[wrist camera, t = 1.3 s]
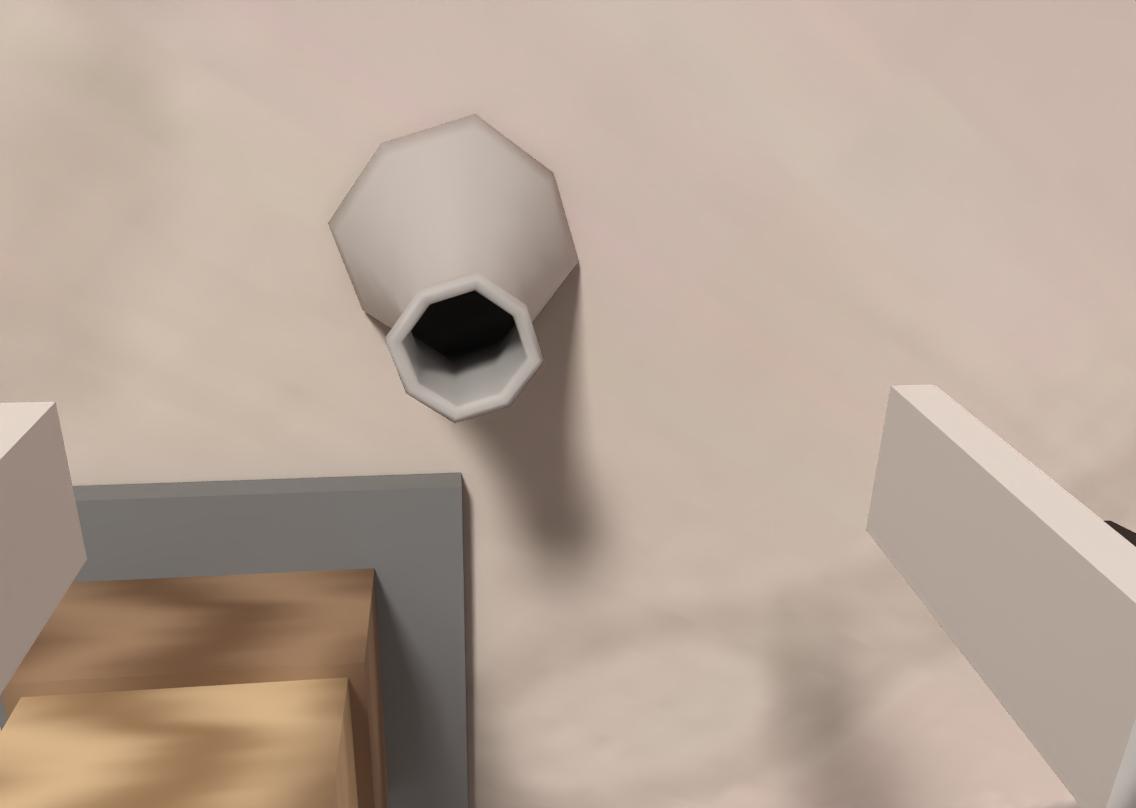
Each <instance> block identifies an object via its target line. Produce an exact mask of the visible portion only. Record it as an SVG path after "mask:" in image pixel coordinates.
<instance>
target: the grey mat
mask: <svg viewBox="0 0 1136 808" xmlns="http://www.w3.org/2000/svg"><path fill="white" fill-rule="evenodd" d="M72 487H73V492H74V497H75V501H76V506H77V511H78V516H79V521H80V526H81V531H82V536H83V541H84V546H85V551H86V556H87V560H86V562H85V563H84V565H83V566H82V568H81V569H80V571H79V573H78V574H77V576H76V577H75V579H74V580H73V582H90V581H112V580H133V579H154V578H176V577H197V576H218V575H240V574H261V573H283V572H304V571H325V570H347V569H368V568H374V570H375V586H376V602H377V618H378V634H379V650H380V666H381V682H382V698H383V714H384V730H385V746H386V762H387V778H388V807H387V808H468V779H467V728H466V677H465V626H464V575H463V525H462V482H461V473H442V474H413V475H384V476H355V477H326V478H298V479H269V480H240V481H211V482H183V483H154V484H125V485H96V486H72ZM7 720H8V719H7V715H6V712H5V708H4V704H3V700H2V696H1V695H0V727H1V731H2V729H3V727H4V726H5V724H6V722H7Z"/></svg>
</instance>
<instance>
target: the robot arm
mask: <svg viewBox="0 0 1136 808" xmlns="http://www.w3.org/2000/svg"><path fill="white" fill-rule="evenodd" d="M866 530H867V532H868V533H869V534H870V535H871V537H872V538H873V539H874V541H875V542H876V543H877V545H878V546H879V547H880V548H881V550H882V551H883V552H884V554H885V555H886V556H887V557H888V559H889V560H890V561H891V563H892V564H893V565H894V566H895V568H896V569H897V570H898V572H899V573H900V574H901V575H902V577H903V578H904V579H905V581H906V582H907V583H908V584H909V586H910V587H911V588H912V590H913V591H914V592H915V593H916V595H917V596H918V597H919V599H920V600H921V601H922V602H923V604H924V605H925V606H926V608H927V609H928V610H929V611H930V613H931V614H932V615H933V617H934V618H935V619H936V620H937V622H938V623H939V624H940V626H941V627H942V628H943V630H944V631H945V632H946V633H947V635H948V636H949V637H950V639H951V640H952V641H953V642H954V644H955V645H956V646H957V648H958V649H959V650H960V651H961V653H962V654H963V655H964V657H965V658H966V659H967V660H968V662H969V663H970V664H971V666H972V667H973V668H974V669H975V671H976V672H977V673H978V675H979V676H980V677H981V678H982V680H983V681H984V682H985V684H986V685H987V686H988V687H989V689H990V690H991V691H992V693H993V694H994V695H995V696H996V698H997V699H998V700H999V702H1000V703H1001V704H1002V705H1003V707H1004V708H1005V709H1006V711H1007V712H1008V713H1009V714H1010V716H1011V717H1012V718H1013V720H1014V721H1015V722H1016V724H1017V725H1018V726H1019V727H1020V729H1021V730H1022V731H1023V733H1024V734H1025V735H1026V736H1027V738H1028V739H1029V740H1030V742H1031V743H1032V744H1033V745H1034V747H1035V748H1036V749H1037V751H1038V752H1039V753H1040V754H1041V756H1042V757H1043V758H1044V760H1045V761H1046V762H1047V763H1048V765H1049V766H1050V767H1051V769H1052V770H1053V771H1054V772H1055V774H1056V775H1057V776H1058V778H1059V779H1060V780H1061V781H1062V783H1063V784H1064V785H1065V787H1066V788H1067V789H1068V790H1069V792H1070V793H1071V794H1072V796H1073V797H1074V798H1075V799H1076V801H1077V802H1078V803H1079V805H1080V806H1081V807H1082V808H1136V533H1134V532H1132V531H1130V530H1128V529H1126V528H1124V527H1122V526H1120V525H1118V524H1116V523H1114V522H1112V521H1103V520H1102V519H1100V518H1099V517H1098V516H1097V515H1095V514H1094V513H1093V512H1092V511H1091V510H1089V509H1088V508H1087V507H1086V506H1084V505H1083V504H1082V503H1081V502H1079V501H1078V500H1077V499H1076V498H1074V497H1073V496H1072V495H1071V494H1069V493H1068V492H1067V491H1066V490H1065V489H1063V488H1062V487H1061V486H1060V485H1058V484H1057V483H1056V482H1055V481H1053V480H1052V479H1051V478H1050V477H1048V476H1047V475H1046V474H1045V473H1043V472H1042V471H1041V470H1040V469H1039V468H1037V467H1036V466H1035V465H1034V464H1032V463H1031V462H1030V461H1029V460H1027V459H1026V458H1025V457H1024V456H1022V455H1021V454H1020V453H1019V452H1017V451H1016V450H1015V449H1014V448H1013V447H1011V446H1010V445H1009V444H1008V443H1006V442H1005V441H1004V440H1003V439H1001V438H1000V437H999V436H998V435H996V434H995V433H994V432H993V431H991V430H990V429H989V428H988V427H987V426H985V425H984V424H983V423H982V422H980V421H979V420H978V419H977V418H975V417H974V416H973V415H972V414H970V413H969V412H968V411H967V410H965V409H964V408H963V407H962V406H960V405H959V404H958V403H957V402H956V401H954V400H953V399H952V398H951V397H949V396H948V395H947V394H946V393H944V392H943V391H942V390H941V389H939V388H938V387H937V386H936V385H894V386H891V388H890V394H889V399H888V405H887V411H886V417H885V423H884V429H883V434H882V440H881V446H880V452H879V458H878V463H877V469H876V475H875V481H874V487H873V493H872V498H871V504H870V510H869V516H868V522H867V527H866ZM86 560H87V556H86V551H85V546H84V541H83V536H82V531H81V526H80V521H79V516H78V511H77V506H76V501H75V497H74V492H73V487H72V482H71V477H70V472H69V467H68V462H67V457H66V452H65V447H64V442H63V437H62V432H61V427H60V422H59V417H58V412H57V407H56V402H23V403H1V404H0V695H1V693H2V692H3V690H4V689H5V687H6V686H7V684H8V682H9V681H10V679H11V678H12V676H13V675H14V673H15V671H16V670H17V668H18V667H19V665H20V664H21V662H22V660H23V659H24V657H25V656H26V654H27V653H28V651H29V649H30V648H31V646H32V645H33V643H34V642H35V640H36V638H37V637H38V635H39V634H40V632H41V631H42V629H43V627H44V626H45V624H46V623H47V621H48V620H49V618H50V617H51V615H52V613H53V612H54V610H55V609H56V607H57V606H58V604H59V602H60V601H61V599H62V598H63V596H64V595H65V593H66V591H67V590H68V588H69V587H70V585H71V584H72V582H73V580H74V579H75V577H76V576H77V574H78V573H79V571H80V569H81V568H82V566H83V565H84V563H85V562H86Z"/></svg>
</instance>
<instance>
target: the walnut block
mask: <svg viewBox="0 0 1136 808" xmlns="http://www.w3.org/2000/svg"><path fill="white" fill-rule="evenodd" d="M346 677H348V684H349V696H350V709H351V721H352V734H353V746H354V759H355V771H356V784H357V797H358V808H387V807H388V778H387V762H386V746H385V730H384V714H383V698H382V682H381V666H380V650H379V634H378V618H377V602H376V586H375V570H374V568H368V569H347V570H325V571H304V572H283V573H261V574H240V575H218V576H197V577H176V578H154V579H133V580H112V581H90V582H72V584H71V585H70V587H69V588H68V590H67V591H66V593H65V595H64V596H63V598H62V599H61V601H60V602H59V604H58V606H57V607H56V609H55V610H54V612H53V613H52V615H51V617H50V618H49V620H48V621H47V623H46V624H45V626H44V627H43V629H42V631H41V632H40V634H39V635H38V637H37V638H36V640H35V642H34V643H33V645H32V646H31V648H30V649H29V651H28V653H27V654H26V656H25V657H24V659H23V660H22V662H21V664H20V665H19V667H18V668H17V670H16V671H15V673H14V675H13V676H12V678H11V679H10V681H9V682H8V684H7V686H6V687H5V689H4V690H3V692H2V693H1V696H2V700H3V704H4V708H5V712H6V715H7V719H9V717H10V715H11V714H12V712H13V710H14V709H15V707H16V705H17V703H18V702H19V700H20V698H21V697H34V696H50V695H67V694H83V693H100V692H116V691H133V690H149V689H165V688H182V687H198V686H215V685H231V684H248V683H264V682H280V681H297V680H313V679H330V678H346Z"/></svg>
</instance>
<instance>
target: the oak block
mask: <svg viewBox="0 0 1136 808" xmlns="http://www.w3.org/2000/svg"><path fill="white" fill-rule="evenodd" d="M0 808H358V797H357V784H356V771H355V759H354V746H353V734H352V721H351V709H350V696H349V684H348V677H346V678H330V679H313V680H297V681H280V682H264V683H248V684H231V685H215V686H198V687H182V688H165V689H149V690H133V691H116V692H100V693H83V694H67V695H50V696H34V697H21V698H20V700H19V702H18V703H17V705H16V707H15V709H14V710H13V712H12V714H11V715H10V717H9V719H8V720H7V722H6V724H5V726H4V727H3V729H2V731H1V732H0Z"/></svg>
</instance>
